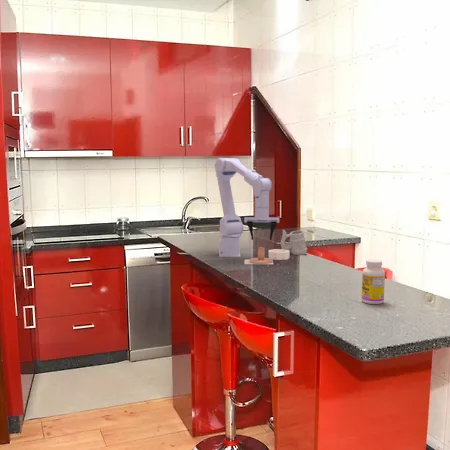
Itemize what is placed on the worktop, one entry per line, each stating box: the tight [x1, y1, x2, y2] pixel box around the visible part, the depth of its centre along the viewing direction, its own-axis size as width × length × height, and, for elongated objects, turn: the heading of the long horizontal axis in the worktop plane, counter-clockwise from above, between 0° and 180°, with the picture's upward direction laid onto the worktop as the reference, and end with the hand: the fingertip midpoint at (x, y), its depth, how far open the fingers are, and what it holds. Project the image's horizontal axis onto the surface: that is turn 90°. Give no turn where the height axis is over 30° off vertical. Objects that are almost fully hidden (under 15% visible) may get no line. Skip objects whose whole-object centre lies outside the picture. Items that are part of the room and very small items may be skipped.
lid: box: [249, 246, 274, 265], centre depth 232 cm, size 10×10×6 cm
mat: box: [244, 259, 274, 265], centre depth 233 cm, size 12×10×1 cm
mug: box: [280, 229, 308, 256], centre depth 252 cm, size 8×12×12 cm, turn 95°
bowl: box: [268, 248, 291, 261], centre depth 242 cm, size 9×9×4 cm
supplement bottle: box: [361, 259, 386, 305], centre depth 169 cm, size 7×7×13 cm
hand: (261, 239), depth 231 cm, fingers open, 7 cm apart
